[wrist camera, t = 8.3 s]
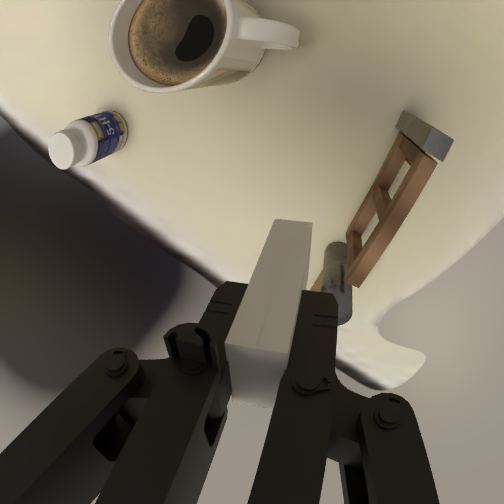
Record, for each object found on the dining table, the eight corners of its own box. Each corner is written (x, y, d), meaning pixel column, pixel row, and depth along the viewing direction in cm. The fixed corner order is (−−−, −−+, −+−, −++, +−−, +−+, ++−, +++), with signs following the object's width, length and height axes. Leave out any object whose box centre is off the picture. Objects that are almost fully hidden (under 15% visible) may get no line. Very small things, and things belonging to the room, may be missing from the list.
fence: (389, 126, 27) (412, 148, 18) (415, 141, 27) (447, 169, 18) (291, 307, 41) (276, 368, 32) (312, 316, 41) (302, 377, 32)
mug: (219, -24, 22) (166, -59, 13) (311, 44, 24) (299, 26, 15) (156, 50, 28) (88, 50, 19) (238, 118, 30) (193, 140, 21)
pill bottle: (135, 123, 33) (84, 142, 25) (119, 159, 36) (71, 185, 28) (103, 102, 32) (51, 117, 25) (90, 138, 35) (40, 159, 28)
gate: (355, 237, 33) (358, 288, 26) (345, 233, 33) (346, 282, 26) (410, 139, 26) (437, 163, 19) (400, 132, 26) (424, 154, 19)
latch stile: (403, 110, 26) (433, 126, 17) (430, 126, 25) (468, 149, 17) (385, 146, 28) (406, 177, 20) (412, 161, 28) (441, 198, 19)
